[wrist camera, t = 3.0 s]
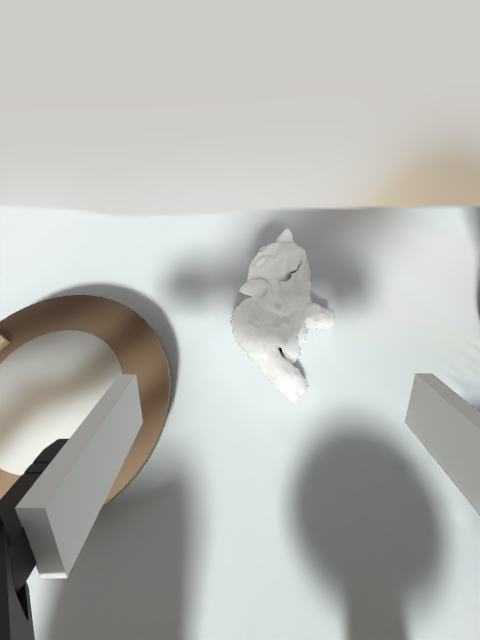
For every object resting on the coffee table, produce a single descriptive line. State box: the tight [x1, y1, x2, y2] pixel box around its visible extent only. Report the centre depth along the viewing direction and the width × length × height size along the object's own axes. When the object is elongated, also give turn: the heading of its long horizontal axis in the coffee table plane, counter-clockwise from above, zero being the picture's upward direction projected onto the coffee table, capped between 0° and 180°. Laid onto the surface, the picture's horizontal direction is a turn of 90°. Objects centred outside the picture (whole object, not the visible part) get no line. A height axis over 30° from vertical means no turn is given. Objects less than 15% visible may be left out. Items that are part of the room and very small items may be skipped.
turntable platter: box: [0, 295, 171, 507], centre depth 22 cm, size 18×18×2 cm
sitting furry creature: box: [230, 228, 335, 403], centre depth 21 cm, size 10×9×12 cm
